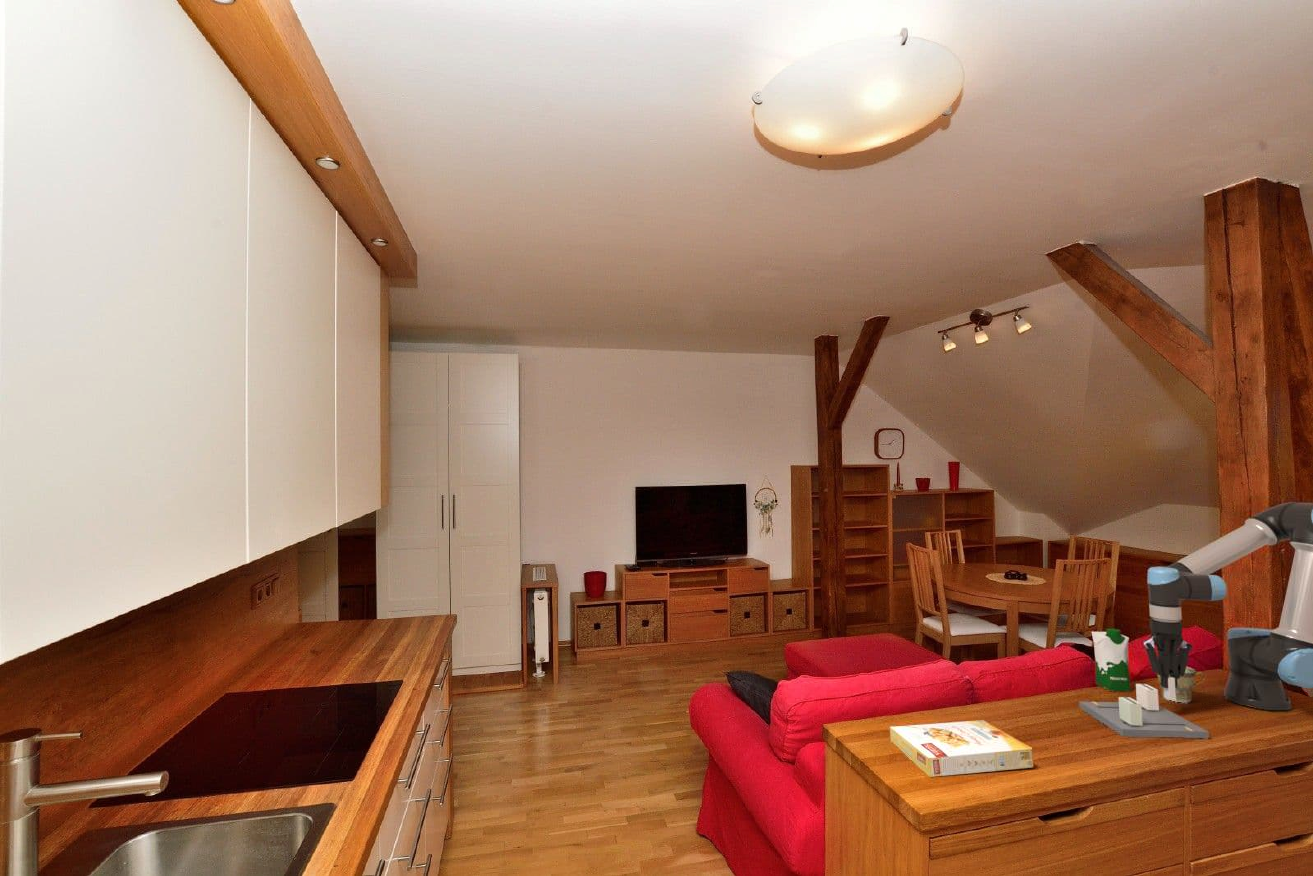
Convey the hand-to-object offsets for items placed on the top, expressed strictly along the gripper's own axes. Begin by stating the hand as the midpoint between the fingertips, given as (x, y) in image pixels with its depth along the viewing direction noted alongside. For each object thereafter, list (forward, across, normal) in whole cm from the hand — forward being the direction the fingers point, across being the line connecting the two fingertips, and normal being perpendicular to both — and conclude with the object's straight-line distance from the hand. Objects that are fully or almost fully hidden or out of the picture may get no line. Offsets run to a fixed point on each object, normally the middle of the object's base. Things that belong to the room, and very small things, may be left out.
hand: (1169, 698), depth 185 cm
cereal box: (+6, +72, +32) cm, 79 cm away
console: (+5, +12, +6) cm, 15 cm away
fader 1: (+3, +18, +12) cm, 22 cm away
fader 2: (+3, +6, 0) cm, 7 cm away
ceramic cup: (+5, -13, -14) cm, 20 cm away
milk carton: (+5, +2, -24) cm, 25 cm away
